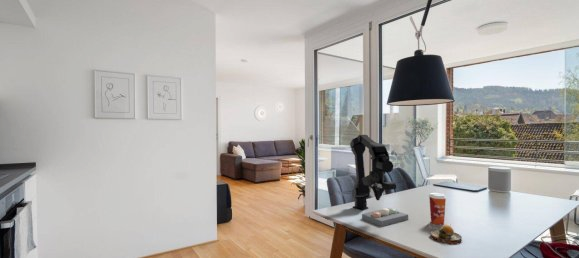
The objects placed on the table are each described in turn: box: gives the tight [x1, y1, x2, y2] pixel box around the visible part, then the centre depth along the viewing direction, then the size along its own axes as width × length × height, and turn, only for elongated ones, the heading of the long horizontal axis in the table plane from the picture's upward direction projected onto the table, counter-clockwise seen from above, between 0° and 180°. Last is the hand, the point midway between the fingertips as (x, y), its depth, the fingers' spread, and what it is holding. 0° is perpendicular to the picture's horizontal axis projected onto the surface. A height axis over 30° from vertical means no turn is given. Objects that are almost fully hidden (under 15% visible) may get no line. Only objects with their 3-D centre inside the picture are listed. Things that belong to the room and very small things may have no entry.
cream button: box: [380, 207, 390, 216], centre depth 144 cm, size 4×4×4 cm
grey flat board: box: [361, 208, 409, 227], centre depth 144 cm, size 13×19×2 cm
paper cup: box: [428, 192, 447, 226], centre depth 138 cm, size 8×8×14 cm
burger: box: [429, 224, 463, 245], centre depth 119 cm, size 12×12×8 cm
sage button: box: [389, 208, 398, 214], centre depth 147 cm, size 4×4×4 cm
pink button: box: [372, 211, 381, 218], centre depth 141 cm, size 4×4×4 cm
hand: (377, 200), depth 142 cm, fingers closed
